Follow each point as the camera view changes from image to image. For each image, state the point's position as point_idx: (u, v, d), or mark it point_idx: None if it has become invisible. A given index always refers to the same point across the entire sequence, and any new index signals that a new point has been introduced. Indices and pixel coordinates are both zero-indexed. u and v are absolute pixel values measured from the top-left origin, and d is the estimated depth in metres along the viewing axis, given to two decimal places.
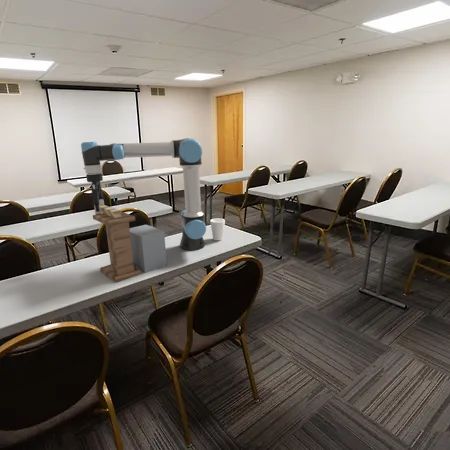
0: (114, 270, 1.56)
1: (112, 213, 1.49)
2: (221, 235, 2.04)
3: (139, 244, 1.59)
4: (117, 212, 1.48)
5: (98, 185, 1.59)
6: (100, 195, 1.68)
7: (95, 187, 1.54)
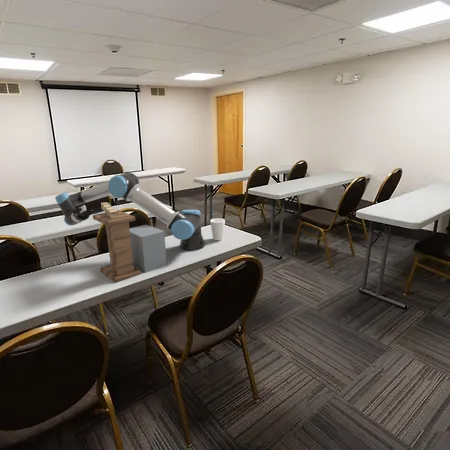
0: (114, 270, 1.56)
1: (109, 213, 1.49)
2: (221, 235, 2.04)
3: (139, 244, 1.59)
4: (114, 213, 1.47)
5: None
6: (99, 208, 1.79)
7: (72, 212, 1.74)
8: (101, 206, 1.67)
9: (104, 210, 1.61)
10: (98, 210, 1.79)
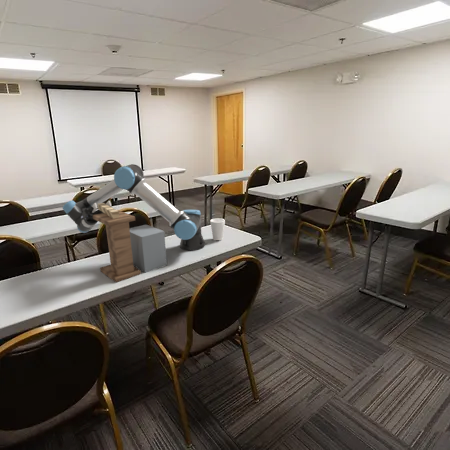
0: (114, 270, 1.56)
1: (111, 213, 1.49)
2: (221, 235, 2.04)
3: (139, 244, 1.59)
4: (115, 213, 1.47)
5: None
6: None
7: (81, 215, 1.66)
8: (98, 207, 1.65)
9: (102, 210, 1.60)
10: None
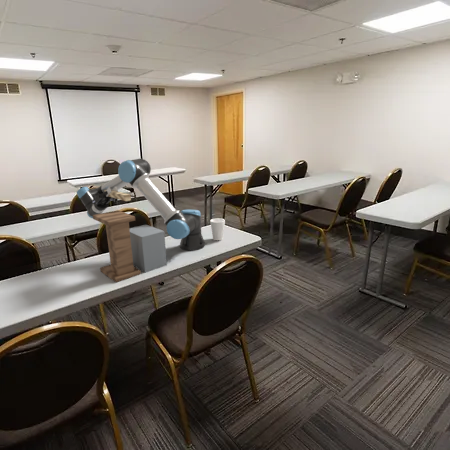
0: (114, 270, 1.56)
1: (123, 196, 1.62)
2: (221, 235, 2.04)
3: (139, 244, 1.59)
4: (127, 196, 1.61)
5: None
6: None
7: (93, 200, 1.79)
8: None
9: (111, 196, 1.72)
10: (110, 197, 1.81)
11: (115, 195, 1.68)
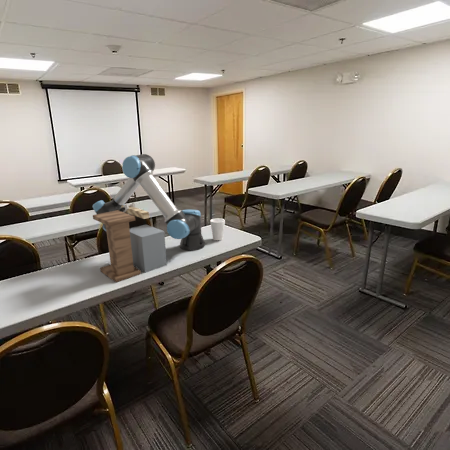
0: (114, 270, 1.56)
1: (141, 214, 1.60)
2: (221, 235, 2.04)
3: (139, 244, 1.59)
4: (146, 213, 1.60)
5: None
6: None
7: None
8: None
9: (128, 212, 1.71)
10: None
11: (133, 212, 1.66)
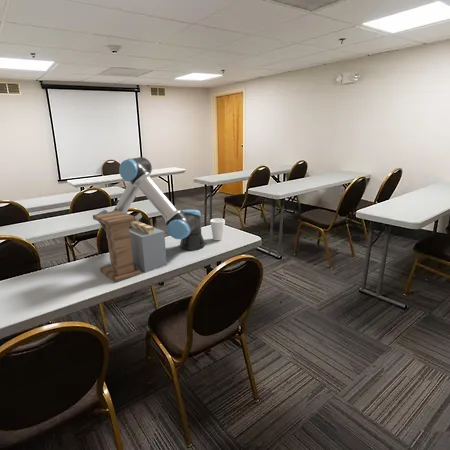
0: (114, 270, 1.56)
1: (146, 229, 1.61)
2: (221, 235, 2.04)
3: (139, 244, 1.59)
4: (151, 228, 1.60)
5: None
6: None
7: None
8: None
9: (133, 226, 1.71)
10: None
11: (138, 226, 1.67)
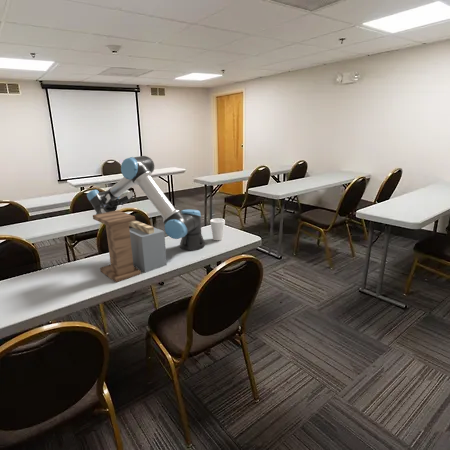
0: (114, 270, 1.56)
1: (146, 229, 1.61)
2: (221, 235, 2.04)
3: (139, 244, 1.59)
4: (151, 228, 1.60)
5: None
6: (124, 197, 1.87)
7: None
8: None
9: (133, 226, 1.71)
10: (123, 200, 1.87)
11: (138, 226, 1.67)
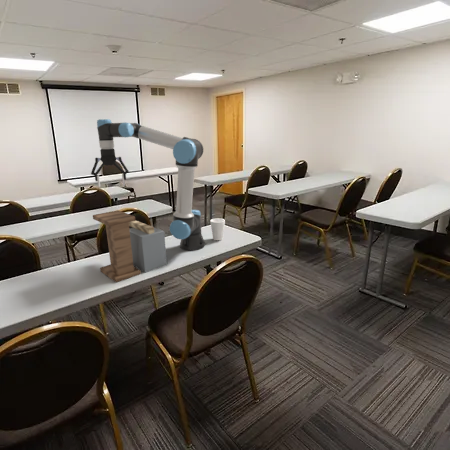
0: (114, 270, 1.56)
1: (146, 229, 1.61)
2: (221, 235, 2.04)
3: (139, 244, 1.59)
4: (151, 228, 1.60)
5: (105, 159, 1.77)
6: None
7: (95, 160, 1.76)
8: None
9: (133, 226, 1.71)
10: None
11: (138, 226, 1.67)
